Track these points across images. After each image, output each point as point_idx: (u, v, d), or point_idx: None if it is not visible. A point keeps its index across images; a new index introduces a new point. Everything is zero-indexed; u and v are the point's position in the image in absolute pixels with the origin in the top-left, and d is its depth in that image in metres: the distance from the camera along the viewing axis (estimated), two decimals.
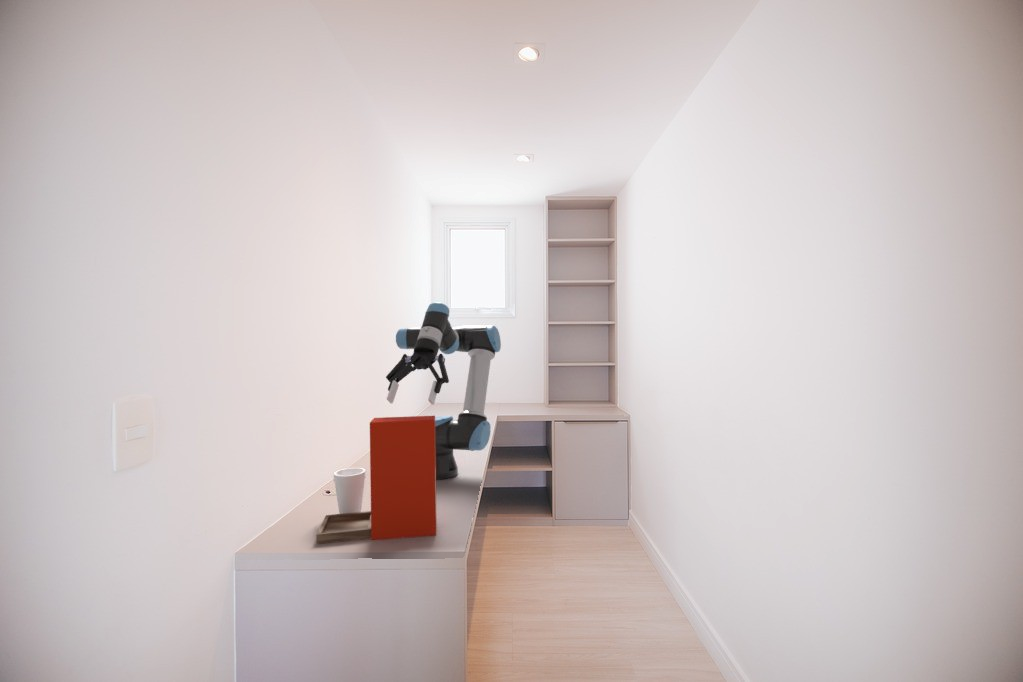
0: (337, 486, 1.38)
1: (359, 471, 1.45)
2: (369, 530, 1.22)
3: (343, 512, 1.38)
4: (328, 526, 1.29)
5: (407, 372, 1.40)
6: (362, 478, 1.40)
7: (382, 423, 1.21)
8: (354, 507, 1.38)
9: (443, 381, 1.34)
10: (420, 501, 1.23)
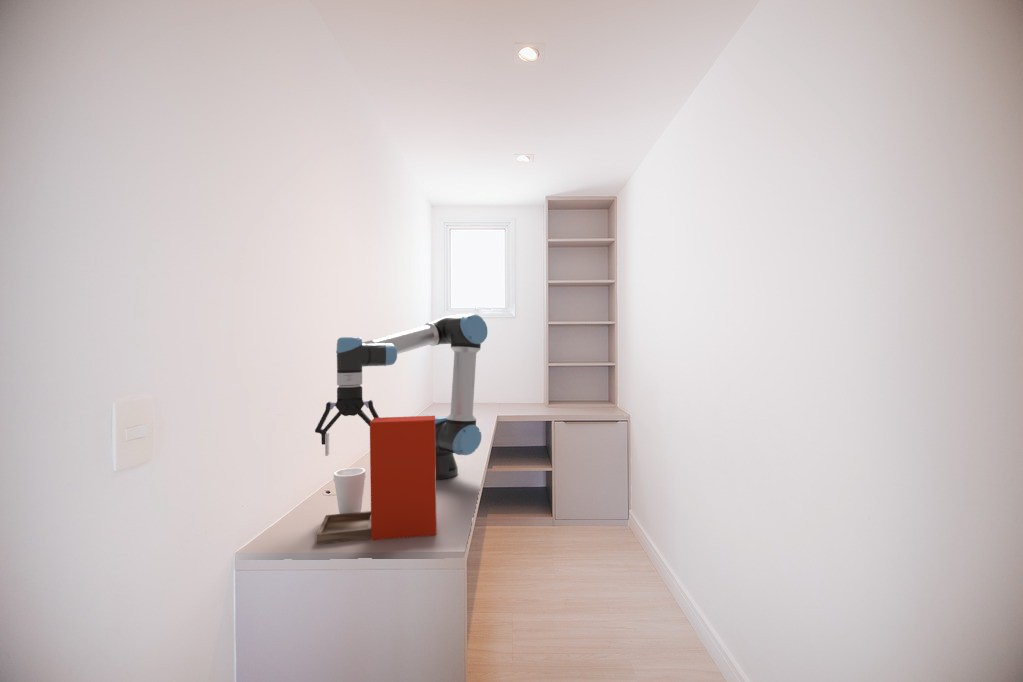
0: (337, 486, 1.38)
1: (359, 471, 1.45)
2: (369, 530, 1.22)
3: (343, 512, 1.38)
4: (328, 526, 1.29)
5: None
6: (362, 478, 1.40)
7: (382, 423, 1.21)
8: (354, 507, 1.38)
9: None
10: (420, 501, 1.23)
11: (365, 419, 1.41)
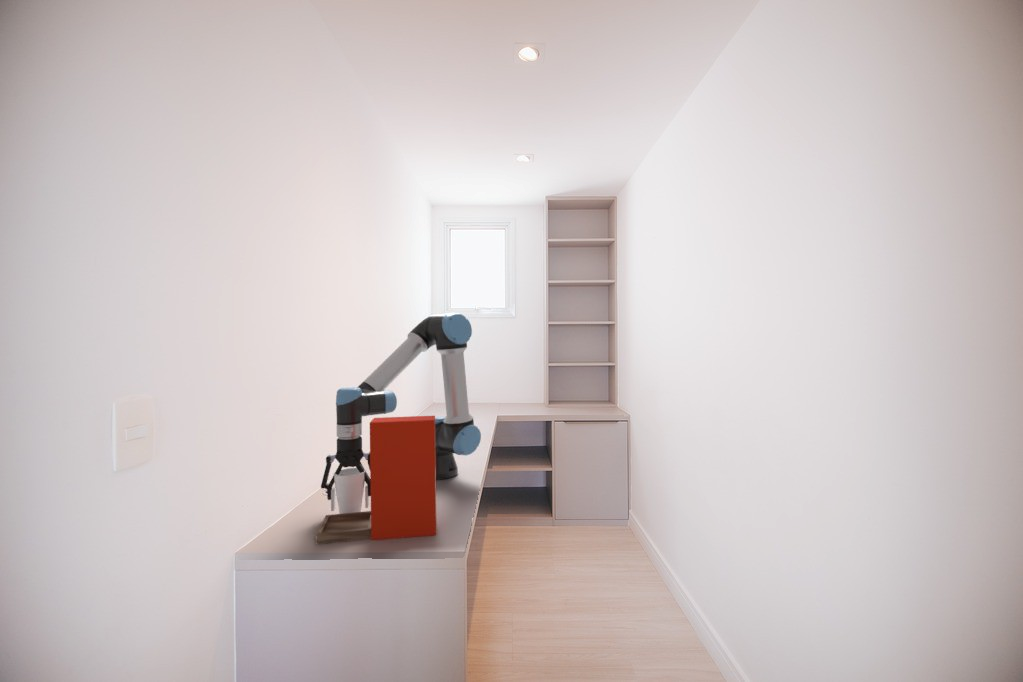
0: (337, 486, 1.38)
1: None
2: (369, 530, 1.22)
3: (343, 512, 1.38)
4: (328, 526, 1.29)
5: None
6: (362, 478, 1.40)
7: (382, 423, 1.21)
8: (354, 507, 1.38)
9: None
10: (420, 501, 1.23)
11: None
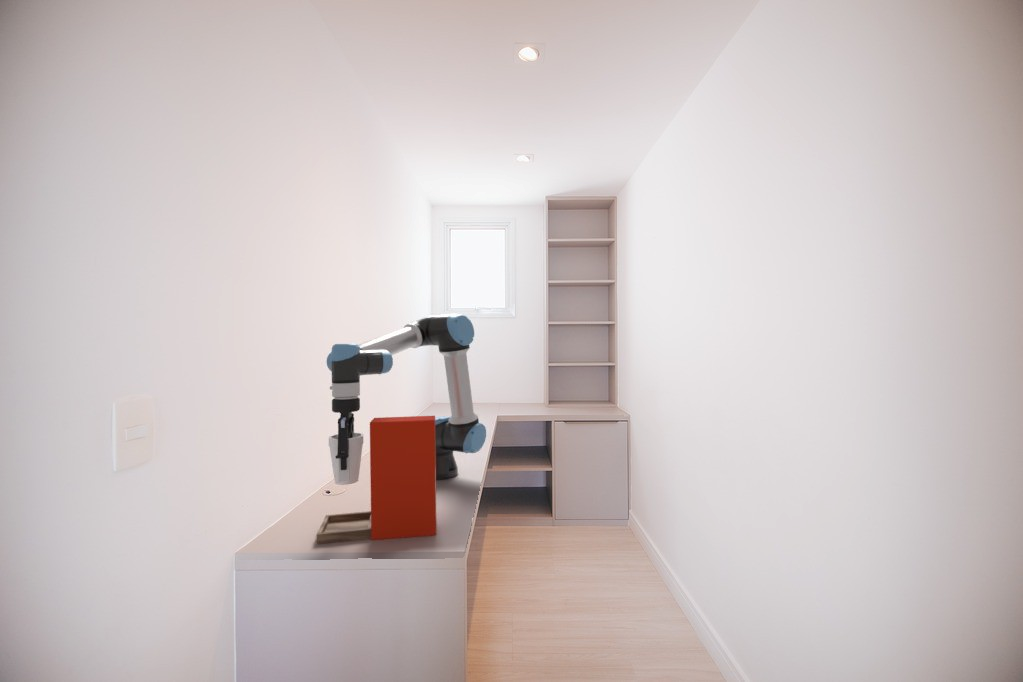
0: None
1: None
2: (369, 530, 1.22)
3: None
4: (328, 526, 1.29)
5: None
6: (335, 445, 1.23)
7: (382, 423, 1.21)
8: (334, 474, 1.25)
9: (342, 457, 1.21)
10: (420, 501, 1.23)
11: None
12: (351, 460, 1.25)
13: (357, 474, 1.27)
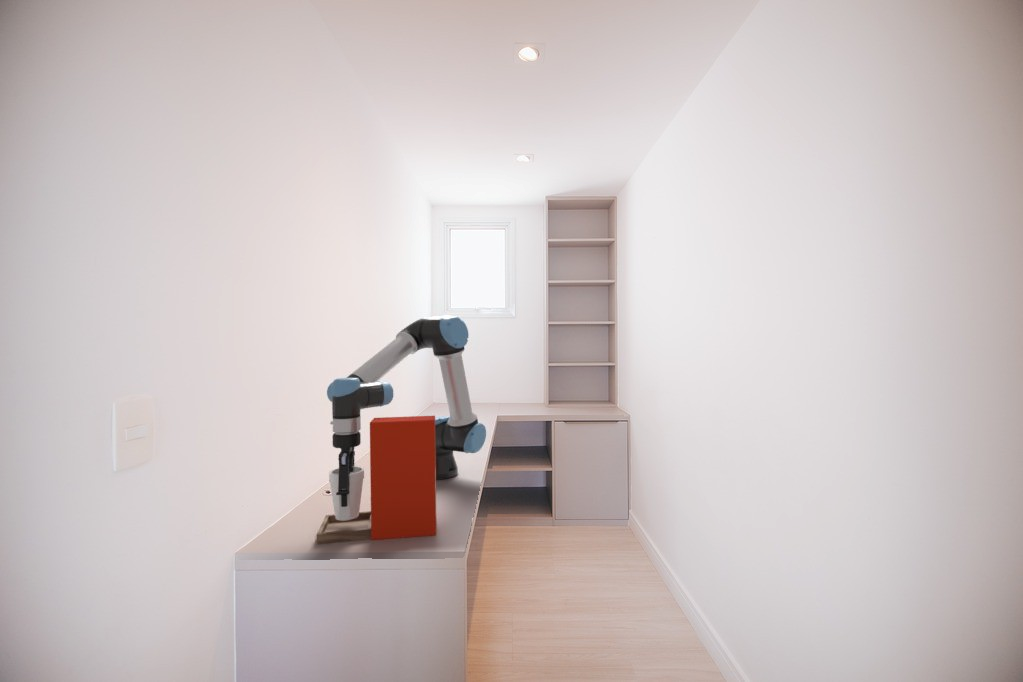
0: None
1: None
2: (369, 530, 1.22)
3: None
4: (328, 526, 1.29)
5: None
6: (336, 481, 1.23)
7: (382, 423, 1.21)
8: (335, 510, 1.25)
9: (343, 494, 1.20)
10: (420, 501, 1.23)
11: None
12: (352, 496, 1.24)
13: (358, 509, 1.27)
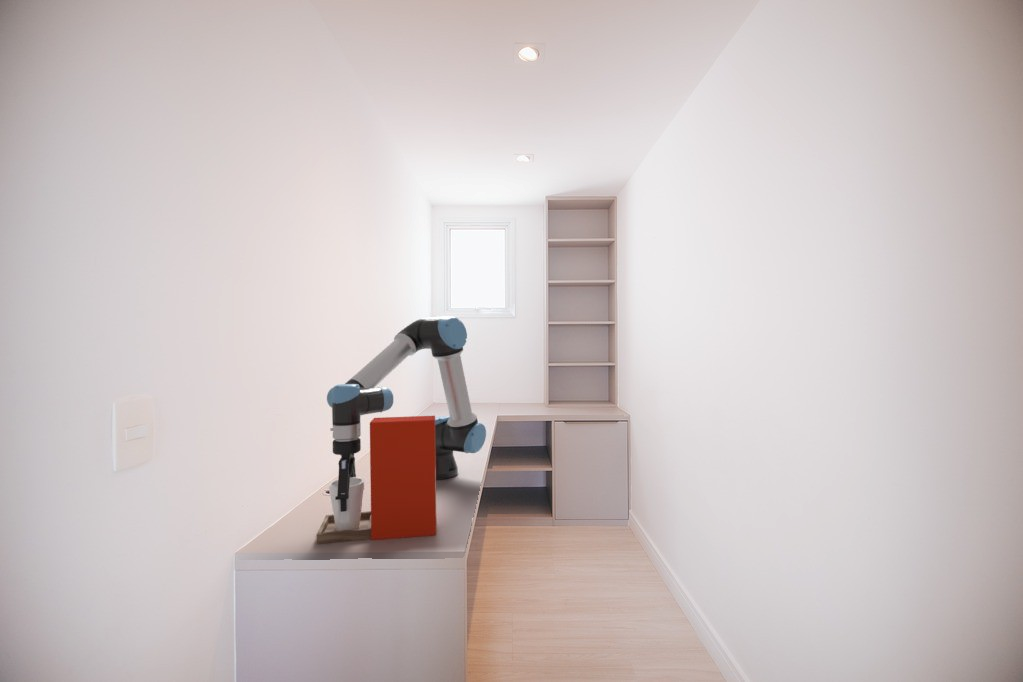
0: None
1: None
2: (369, 530, 1.22)
3: None
4: (328, 526, 1.29)
5: None
6: (336, 493, 1.23)
7: (382, 423, 1.21)
8: (335, 521, 1.25)
9: (342, 499, 1.19)
10: (420, 501, 1.23)
11: None
12: (352, 507, 1.25)
13: (358, 520, 1.27)
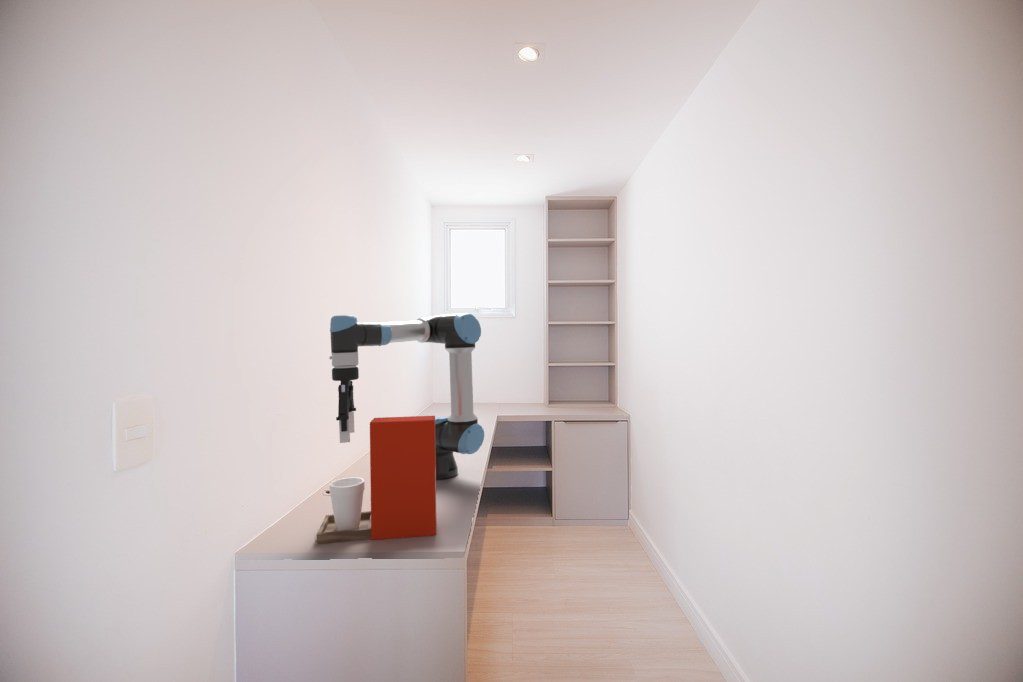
0: None
1: None
2: (369, 530, 1.22)
3: None
4: (328, 526, 1.29)
5: (348, 400, 1.39)
6: (336, 493, 1.23)
7: (382, 423, 1.21)
8: (335, 521, 1.25)
9: (342, 419, 1.26)
10: (420, 501, 1.23)
11: None
12: (352, 507, 1.25)
13: (358, 521, 1.27)
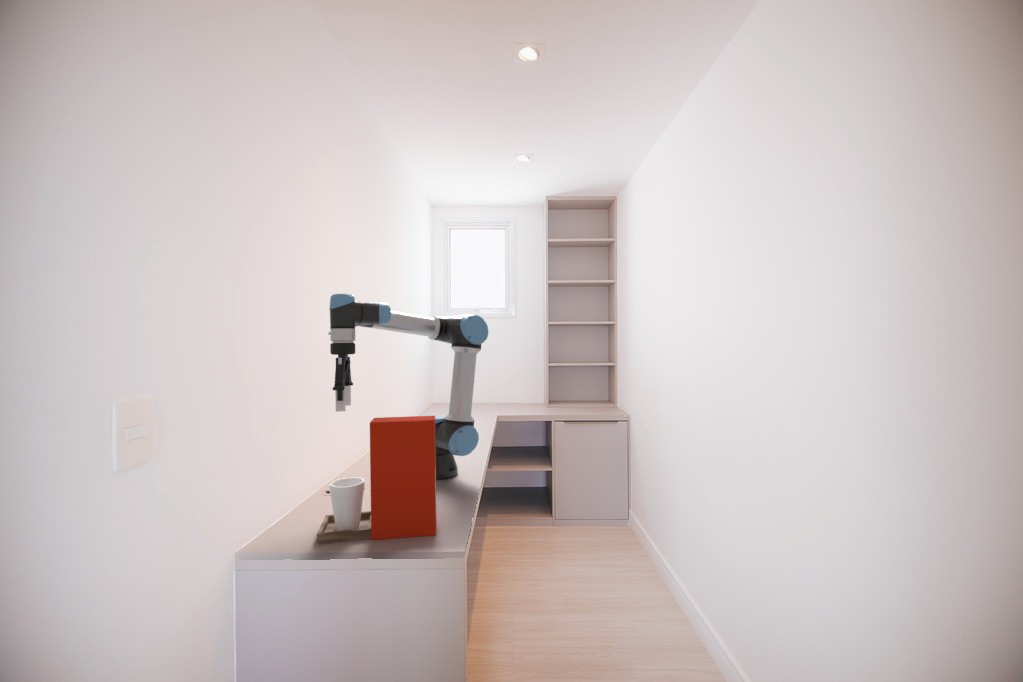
0: None
1: None
2: (369, 530, 1.22)
3: None
4: (328, 526, 1.29)
5: (346, 374, 1.48)
6: (336, 493, 1.23)
7: (382, 423, 1.21)
8: (335, 521, 1.25)
9: (338, 389, 1.35)
10: (420, 501, 1.23)
11: None
12: (352, 507, 1.25)
13: (358, 521, 1.27)
